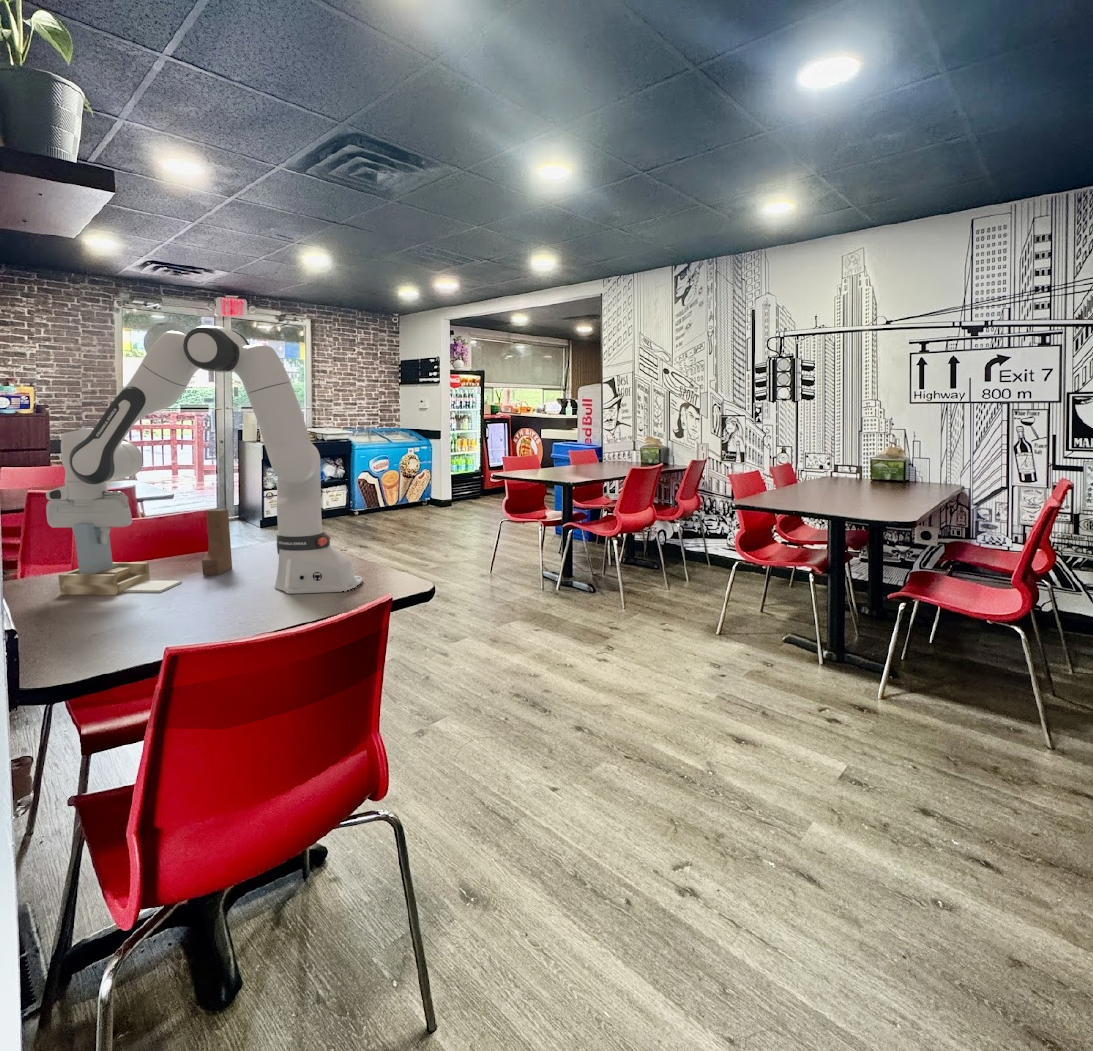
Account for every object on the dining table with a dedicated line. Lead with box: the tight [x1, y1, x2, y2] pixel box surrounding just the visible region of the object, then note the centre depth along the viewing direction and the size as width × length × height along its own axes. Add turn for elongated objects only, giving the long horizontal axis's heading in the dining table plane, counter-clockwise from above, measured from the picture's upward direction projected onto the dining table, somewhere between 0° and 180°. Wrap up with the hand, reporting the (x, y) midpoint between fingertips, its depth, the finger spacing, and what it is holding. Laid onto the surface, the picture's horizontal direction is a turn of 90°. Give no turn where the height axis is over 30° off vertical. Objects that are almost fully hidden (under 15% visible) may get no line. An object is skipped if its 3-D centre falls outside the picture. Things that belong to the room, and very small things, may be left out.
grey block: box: [73, 523, 113, 574], centre depth 176 cm, size 4×8×13 cm, turn 0°
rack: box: [57, 561, 151, 596], centre depth 177 cm, size 14×15×5 cm
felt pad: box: [122, 579, 182, 594], centre depth 177 cm, size 10×10×1 cm
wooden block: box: [201, 508, 233, 576], centre depth 193 cm, size 9×4×18 cm, turn 0°
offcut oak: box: [104, 568, 130, 581], centre depth 177 cm, size 3×6×2 cm, turn 177°
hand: (93, 543), depth 175 cm, fingers closed on grey block, 3 cm apart
